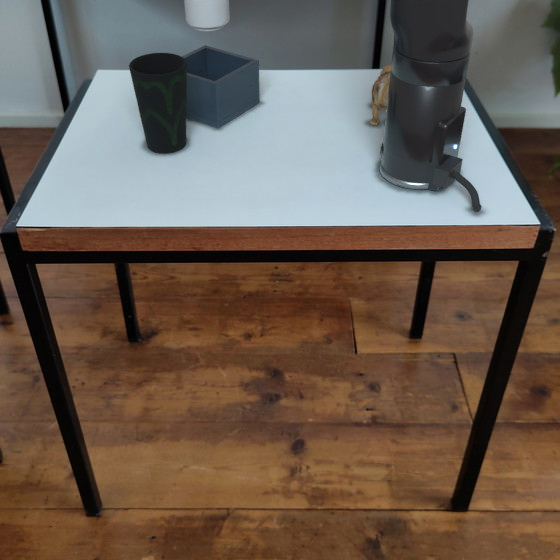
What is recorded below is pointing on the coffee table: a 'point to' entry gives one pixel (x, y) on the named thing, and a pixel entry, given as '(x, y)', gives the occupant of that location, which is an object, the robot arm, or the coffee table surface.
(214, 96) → the open box
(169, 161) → the coffee table surface
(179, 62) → the cup
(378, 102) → the lion figurine
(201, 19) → the beverage can
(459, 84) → the robot arm
